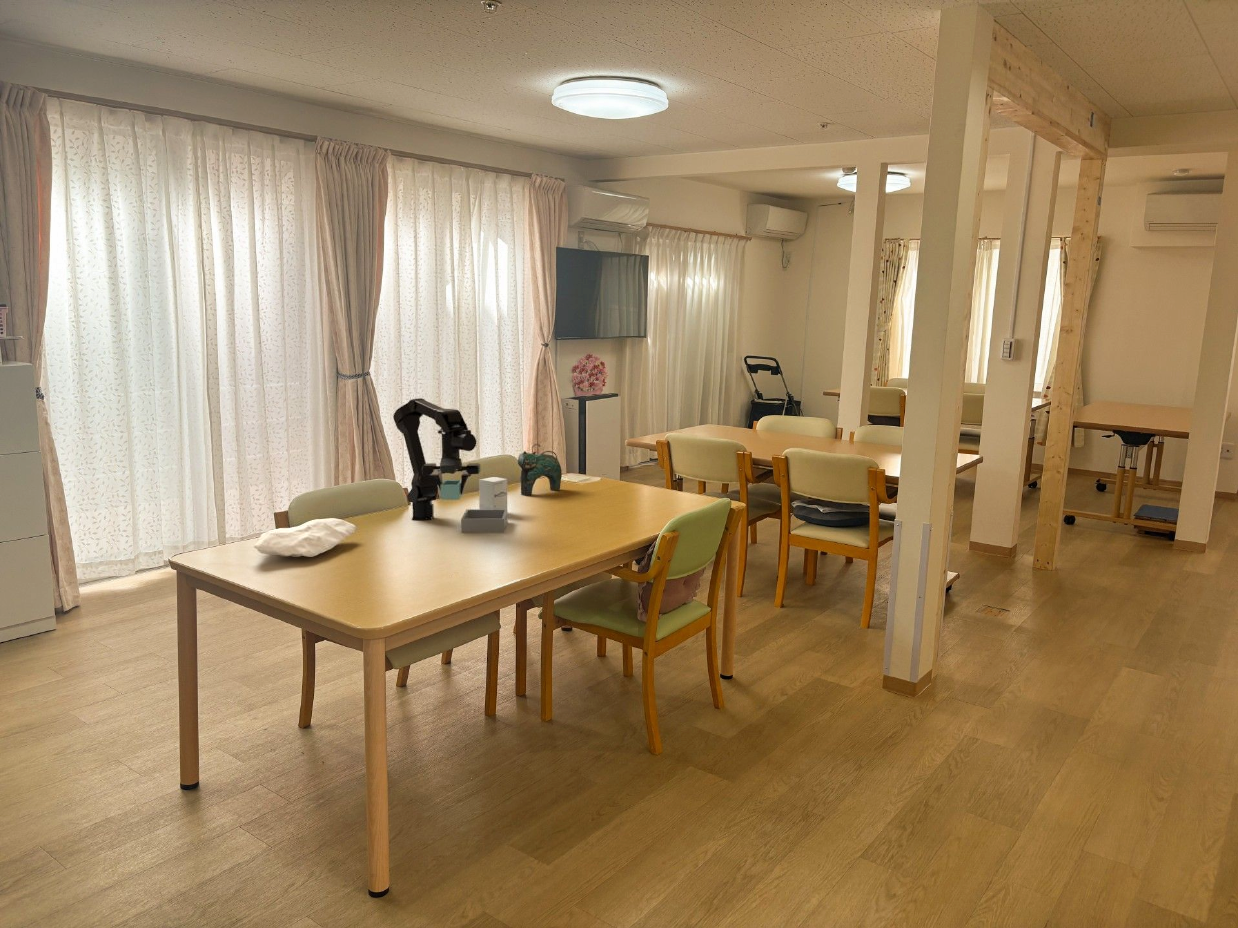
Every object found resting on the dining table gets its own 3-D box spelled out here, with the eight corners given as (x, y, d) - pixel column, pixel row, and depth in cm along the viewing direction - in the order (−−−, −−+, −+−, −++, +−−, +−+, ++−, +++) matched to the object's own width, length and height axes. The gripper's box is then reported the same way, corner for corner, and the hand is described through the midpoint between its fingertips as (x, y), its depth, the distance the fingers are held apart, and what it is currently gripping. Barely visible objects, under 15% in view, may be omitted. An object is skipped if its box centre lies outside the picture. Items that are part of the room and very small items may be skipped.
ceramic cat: (524, 497, 343) (523, 446, 340) (514, 494, 348) (514, 444, 344) (564, 490, 356) (564, 441, 353) (554, 488, 361) (554, 440, 357)
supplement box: (493, 516, 311) (493, 481, 309) (478, 513, 315) (478, 479, 313) (508, 513, 317) (507, 478, 314) (493, 510, 321) (493, 476, 319)
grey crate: (461, 532, 289) (461, 519, 288) (466, 522, 303) (466, 509, 302) (504, 532, 290) (504, 519, 289) (507, 522, 303) (507, 509, 303)
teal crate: (440, 499, 290) (440, 484, 289) (445, 494, 298) (444, 480, 297) (459, 499, 290) (458, 484, 290) (462, 494, 298) (462, 480, 298)
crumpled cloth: (225, 554, 255) (225, 525, 253) (320, 528, 285) (322, 502, 283) (279, 579, 245) (281, 549, 242) (373, 549, 274) (375, 522, 272)
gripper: (417, 451, 283) (419, 499, 286) (475, 451, 284) (476, 499, 287) (424, 446, 294) (425, 492, 297) (480, 446, 295) (481, 492, 298)
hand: (452, 494), depth 294 cm, fingers closed on teal crate, 6 cm apart
